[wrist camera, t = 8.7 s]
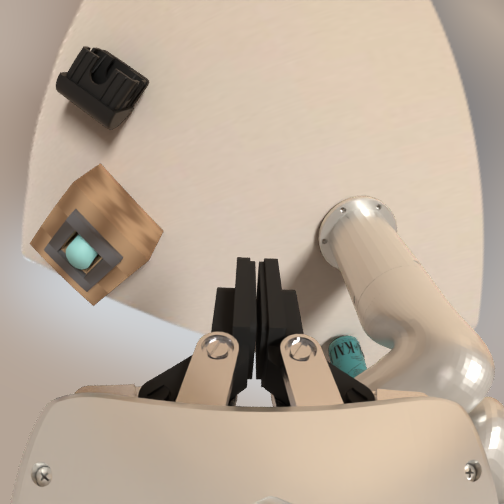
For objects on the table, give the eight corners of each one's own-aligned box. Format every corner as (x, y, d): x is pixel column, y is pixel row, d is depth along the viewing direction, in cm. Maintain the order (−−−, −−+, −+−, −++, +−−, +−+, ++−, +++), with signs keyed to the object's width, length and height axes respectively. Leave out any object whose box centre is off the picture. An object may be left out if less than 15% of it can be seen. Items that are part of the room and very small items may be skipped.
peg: (119, 227, 43) (95, 259, 36) (105, 241, 45) (81, 274, 37) (101, 209, 42) (74, 238, 34) (88, 224, 43) (61, 254, 35)
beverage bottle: (351, 350, 59) (374, 433, 42) (321, 351, 59) (338, 438, 41) (361, 329, 55) (390, 416, 38) (330, 329, 55) (352, 421, 38)
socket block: (163, 230, 44) (146, 264, 36) (110, 275, 49) (91, 310, 41) (100, 163, 38) (69, 184, 31) (55, 219, 43) (26, 247, 35)
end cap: (74, 89, 32) (47, 93, 26) (101, 47, 30) (76, 44, 24) (123, 125, 36) (102, 134, 30) (153, 83, 33) (135, 84, 27)
